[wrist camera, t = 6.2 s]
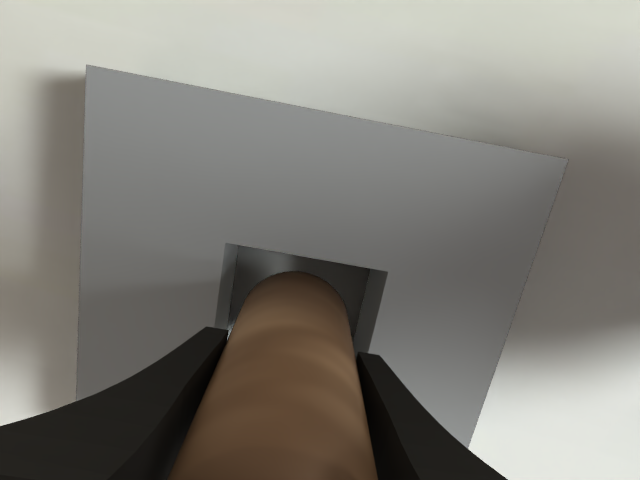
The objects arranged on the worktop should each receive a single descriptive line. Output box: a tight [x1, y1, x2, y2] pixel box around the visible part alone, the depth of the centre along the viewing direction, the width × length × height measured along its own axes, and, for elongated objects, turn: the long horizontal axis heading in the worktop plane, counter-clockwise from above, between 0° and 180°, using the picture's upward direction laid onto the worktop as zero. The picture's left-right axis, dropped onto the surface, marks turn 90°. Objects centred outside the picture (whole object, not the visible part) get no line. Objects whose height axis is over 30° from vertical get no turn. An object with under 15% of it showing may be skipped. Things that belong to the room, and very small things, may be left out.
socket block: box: [76, 65, 569, 449], centre depth 15 cm, size 14×14×3 cm
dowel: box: [167, 271, 378, 480], centre depth 10 cm, size 4×4×8 cm
